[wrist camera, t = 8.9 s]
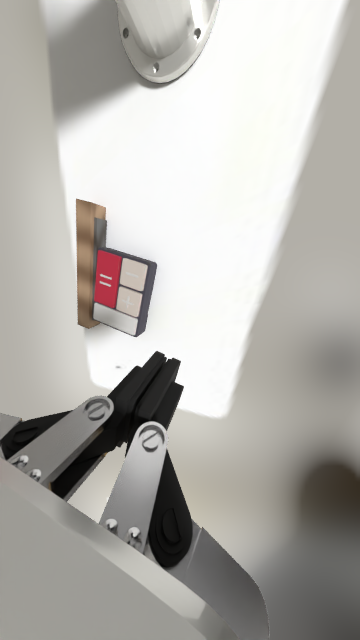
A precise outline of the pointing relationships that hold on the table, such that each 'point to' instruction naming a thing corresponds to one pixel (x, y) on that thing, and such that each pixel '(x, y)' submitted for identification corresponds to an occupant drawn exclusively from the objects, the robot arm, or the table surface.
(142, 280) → the calculator
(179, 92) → the table surface
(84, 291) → the bar
